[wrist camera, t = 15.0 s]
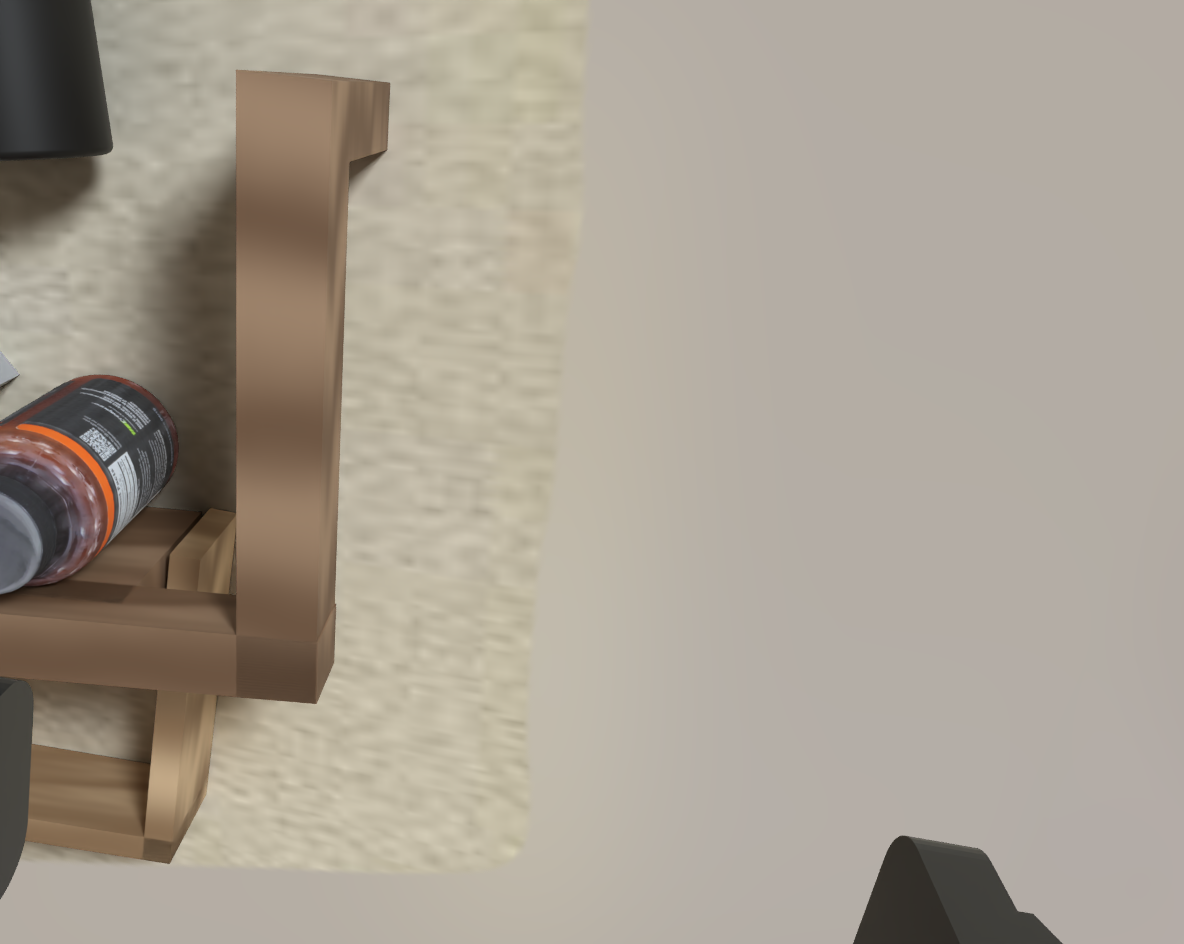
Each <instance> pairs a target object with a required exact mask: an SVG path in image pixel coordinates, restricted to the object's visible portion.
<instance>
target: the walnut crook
mask: <svg viewBox="0 0 1184 944" xmlns="http://www.w3.org/2000/svg"><path fill="white" fill-rule="evenodd" d="M389 98H390V83H387V82H378V81H370V80H361V79H352V78H344V77H335V76H326V75H318V74H301V73H283V72H266V71H248V70H236V595H231V594H220V593H209V592H198V591H187V590H176V589H167V581H168V570H169V559H170V553H171V552H172V551H173V550H174V549H175V548H176V547H177V545H178V544H179V543H180V542H181V541H182V540H183V539H184V538H185V536H186V535H187V534H188V533H189V532H190V531H191V530H192V528H193V527H194V526H195V525H196V524H197V523H198V522H199V520H200V519H201V518H202V512H197V511H186V510H176V509H165V508H155V507H144V508H143V509H142V510H141V511H140V512H139V513H138V514H137V515H136V516H135V517H134V518H133V519H132V520H131V521H130V522H129V523H128V524H127V525H126V526H125V527H124V528H123V529H122V530H121V531H120V532H119V533H118V534H117V535H116V536H115V537H114V538H113V539H112V540H111V541H110V542H109V543H108V544H107V545H106V546H105V547H104V549H103V550H102V551H101V552H99V553H98V554H97V555H96V556H95V557H94V558H93V559H92V560H91V561H90V562H89V563H88V564H87V565H86V566H84V567H83V568H82V569H80V570H79V571H78V572H76V573H75V574H73V575H71V576H69V577H67V578H65V579H62V580H60V581H58V582H55V583H51V584H47V585H40V586H22V587H21V588H19V589H17V590H15V591H12V592H9V593H5V594H0V676H1V677H13V678H24V679H36V680H47V681H59V682H70V683H82V684H93V685H105V686H116V687H128V688H139V689H151V690H162V691H174V692H185V693H197V694H208V695H220V696H231V697H243V698H254V699H266V700H277V701H289V702H300V703H312V704H317V701H318V699H319V697H320V694H321V692H322V690H323V687H324V685H325V682H326V680H327V678H328V675H329V673H330V671H331V668H332V666H333V664H334V650H335V620H336V604H335V580H336V550H337V520H338V490H339V460H340V430H341V400H342V370H343V340H344V310H345V280H346V250H347V219H348V189H349V162H351V161H354V160H357V159H360V158H363V157H366V156H370V155H373V154H376V153H379V152H382V151H385V150H387V143H388V121H389Z"/></svg>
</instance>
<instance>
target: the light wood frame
mask: <svg viewBox="0 0 1184 944" xmlns="http://www.w3.org/2000/svg"><path fill="white" fill-rule="evenodd" d="M235 534H236V513H234V512H229V511H224V510H218V509H213V508H210V509H209V510H208V511H207V512H206V514H205V515H204V516H203V517H202V518H201V519H200V520H199V522H198V523H197V524H196V525H195V526H194V527H193V528H192V530H191V531H190V532H189V533H188V534H187V535H186V536H185V538H184V539H183V540H182V541H181V542H180V543H179V544H178V545H177V547H176V548H175V549H174V550H173V551H172V552H171V553H170V559H169V570H168V581H167V589H176V590H187V591H198V592H209V593H220V594H229V587H230V578H231V569H232V560H233V552H234V543H235ZM216 703H217V695H208V694H197V693H185V692H174V691H162V690H158V691H157V702H156V713H155V723H154V734H153V745H152V756H151V764H148V763H142V762H136V761H130V760H124V759H118V758H112V757H106V756H100V755H94V754H88V753H82V752H76V751H70V750H65V749H59V748H53V747H47V746H41V745H35V744H32V747H31V768H30V789H29V810H28V825H27V832H26V838H25V841H31V842H37V843H43V844H49V845H55V846H62V847H68V848H74V849H80V850H86V851H93V852H99V853H105V854H111V855H117V856H124V857H130V858H136V859H142V860H148V861H155V862H161V863H167V864H170V862H171V860H172V858H173V856H174V855H175V853H176V851H177V849H178V847H179V845H180V843H181V841H182V839H183V837H184V836H185V834H186V832H187V830H188V828H189V826H190V824H191V822H192V820H193V818H194V817H195V815H196V813H197V811H198V809H199V807H200V805H201V803H202V801H203V799H204V798H205V796H206V792H207V783H208V774H209V765H210V756H211V747H212V738H213V729H214V721H215V712H216Z"/></svg>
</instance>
